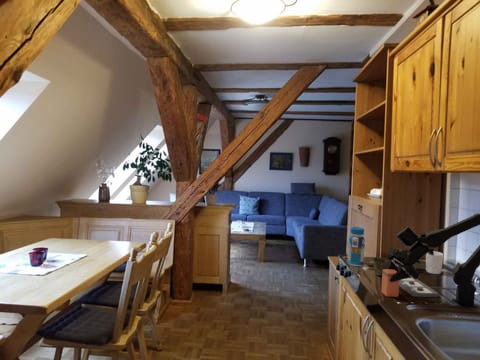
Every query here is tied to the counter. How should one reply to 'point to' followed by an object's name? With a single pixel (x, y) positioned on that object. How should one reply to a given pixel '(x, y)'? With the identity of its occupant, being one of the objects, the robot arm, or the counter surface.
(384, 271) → the block
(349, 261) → the beverage bottle
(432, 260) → the white cup
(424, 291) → the breaker panel
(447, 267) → the counter surface
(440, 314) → the counter surface
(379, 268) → the cup
